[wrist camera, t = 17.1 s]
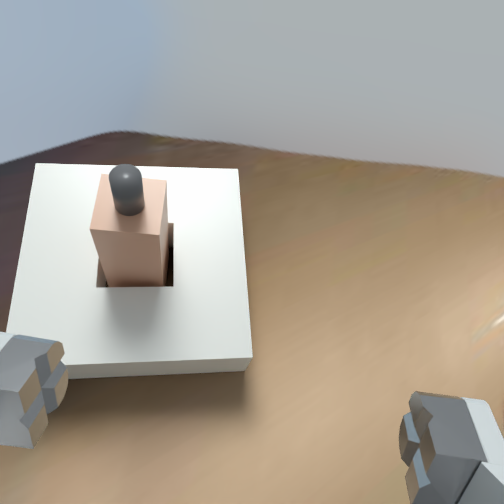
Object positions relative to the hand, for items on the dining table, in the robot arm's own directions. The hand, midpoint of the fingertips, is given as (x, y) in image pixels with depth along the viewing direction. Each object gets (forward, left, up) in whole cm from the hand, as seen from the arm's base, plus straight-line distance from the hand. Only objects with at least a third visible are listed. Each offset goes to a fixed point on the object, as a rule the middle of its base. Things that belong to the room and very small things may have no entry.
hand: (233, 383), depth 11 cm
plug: (+4, -16, -28) cm, 32 cm away
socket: (+5, -16, -28) cm, 32 cm away
